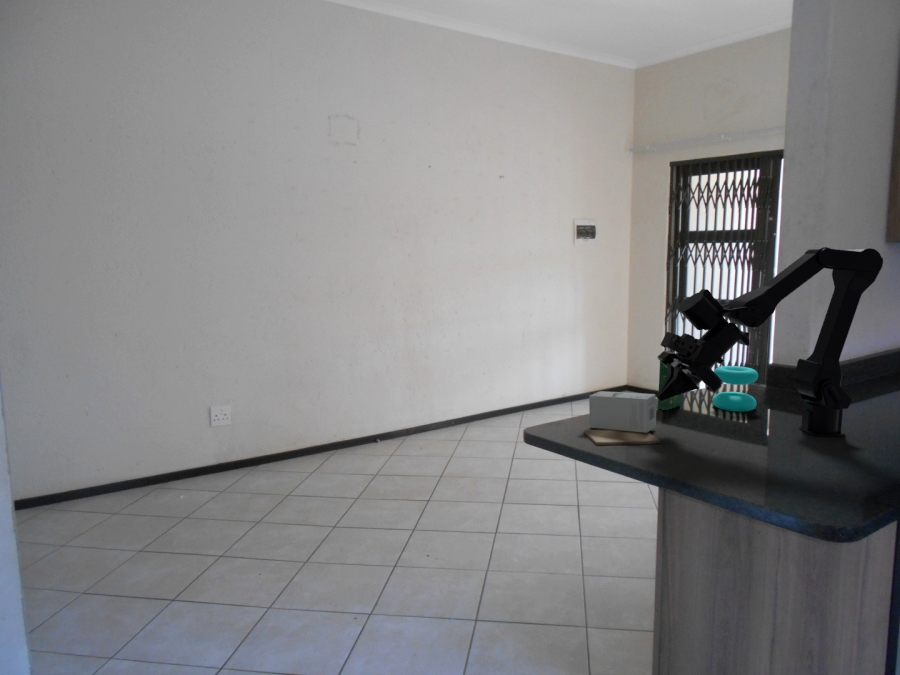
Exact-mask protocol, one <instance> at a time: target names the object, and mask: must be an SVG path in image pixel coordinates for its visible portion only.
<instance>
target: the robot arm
mask: <svg viewBox="0 0 900 675" xmlns="http://www.w3.org/2000/svg"><path fill="white" fill-rule="evenodd" d="M883 264H884V258H883V257H882V255H881V253H880V252H879V251H878V249H877V250H876V249H874V248H871V247H870V248H869V247H868V248H865V247H863V248H847V249H835V248H830V247H828V246H823V247H822V246H821V247H819V246H818V247H816V246H815V247H811V248H809V249H807V250H806V251H805V252H804V254H802V255H801V256H800V257H799V258H797V259H796V260H795V261H793V262H792V263H791V264H789V265H788V266H787V267H785V268H784V269H783V270H782V271H779V273H777V274H776V275H775V276H774V277H772V278H771V279H770V280H769V281H767V282H766V283H765V284H763V285H762V286H760V287H758V288H755V289H753V290H751V291H747V292H745V293H743V294H740V295H739V296H737V297H735V298H733V299H732V300H731V301H730V302H729V303H726V304H720V302H719V301H718V300H717V299H716V298H715V297H714V296H713V294H712V293H711V292H710V290H709V289H706V288H702V289H700V290H699V291H698V292H696V293H693V294H692V295H691V296H690V297H687V298H686V299H684V300H683V301H682V302H681V303H680V305H679V307H678V311H679V312H680V314H682V315H683V317H685V319H686V320H688V322H689V323H690V324H691V325H692V326H693V327H694V328H695V329H696V330H697V331H702V330H703V331H706V332H704V334H702V336H700V338H695V336H693V335H691V334H689V333H683V334H682V335H679V334H676V333H674V332H673V333H672V332H669V331H666V332H665V334H664V337H663V339H662V340H661V342H660V345H659V346H661V347H663V348H667V349H670V350H672V351H674V352H672V351H669V350H666V351H665V350H663V351H662V352H661V353H660V354H659V355H657V357H656V358H657V360H659V362H660V361H661V362H662V363H663V364H664V365H665V366H666V367H667V370H668V375H667V377H666V380H665V382H664V384H663V385H662V387H661V389H660V391H659V390H658V394H656V398H657V400H658V399H659V400H660V401H663V400H666V399H668V398H671V397H674V396H677V395H680V394H681V395H682V394H685V393H688V392H692V391H695V390H697V391H698V390H700V387H699V386H698V385H699V384H700V383H701V382H703V383H704V384H705V385H706V390H707V391H708V392H711V393H713V394H716V393H717V392H718V391H719V390H720V389H721V388H722V384H723V382H722V380H721V379H720V378H719V377H718V376H717V375H716V374H715V373H714V370H713V369H712V368H713V367H714V366H715V365H716V364H719V365H722V364H723V362H724V361H725V360H724V359H723V356H724V355H726V354H727V353H728V352H729V351H730V350H731V349H732V348H733V347H734V346H735V345H736V344H739V345H742V346H747V347H748V346H750V344H751V343H750V332H748V331H743V330H741V329H740V328H739V326H742V327H747V328H758V327H760V326H763V325H764V324H765V323H766V321H767V320H768V319H770V318H771V316H772V315H773V314H774V313H775V311H776V308H778V307H777V306H778V305H779V304H780V303H781V301H783V300H784V299H786V298H787V297H788V296H790V295H791V294H792V293H794V291H796V290H797V289H799V288H800V287H801V286H803V285H804V284H806V283H807V282H808V281H809V280H811V279H812V278H813V277H814V276H816V274H818V273H820V271H822V270H824V269H827V270H832V271H831V272H832V273H831V277H832V281H833V285H834V289H833V293H832V296H831V298H830V300H829V305H828V308H827V310H826V313H825V316H824V319H823V321H822V326H821V328H820V331H819V334H818V337H817V340H816V342H815V345H814V349H813V351H812V353H811V355H809V356H808V358H806V359H803V358H799V359H798V360H797V364H796V368H795V370H794V372H793V374H791V375H792V377H793V386H794V387H795V389H796V391H798V394H799V397H800V400H801V401H805V402H804V409H802V412H801V425H799V426H798V428H799V429H800V430H802V431H803V432H807V433H808V434H810V435H812V436H813V437H846V436H847V433H845V432H843V431H842V427H843V425H842V424H843V414H844V413H843V412H844V410H848V409H849V407H850V405H851V403H852V397H850V396H849V394H848V393H847V392H846V391H844V389H843V388H842V387H841V383H842V378H843V373H842V368H841V363H840V359H841V355H842V353H843V349H844V347H845V344H846V341H847V338H848V335H849V332H850V329H851V326H852V324H853V321H854V318H855V316H856V312H857V309H858V306H859V303H860V300H861V297H862V295H863V294H864V292H865V291H866V290H868V288H869V287H871V285H872V284H874V283H875V281H876V279H877V278H878V276H879V274H880V273H881V270H882V268H883ZM726 318H728V320H729V321H730V322H729V321H728V320H727V319H726ZM675 352H676V353H675Z"/></svg>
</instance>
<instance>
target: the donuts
mask: <svg viewBox="0 0 900 675" xmlns="http://www.w3.org/2000/svg"><path fill="white" fill-rule="evenodd" d="M713 372H714V373H715V374H716V375H717V376H718V377H719V378H720V379H721V380H722V384H728V385H737V386H739V385H740V386H741V385H742V386H744V385H745V386H746V385H750V384H753V383H755V382H757V380H758V378H759V372H758V371H757V370H756V369H754V368H751V367H747V366H739V365H722V366H718V367H716V368H715V369H714V370H713ZM712 404H713V405H714V407H716V408H717V409H720V410H723V411H730V412H738V413H739V412H741V413H742V412H750V411H753V410H754V409H756V407H757V404H758V403H757V400H756V399H755V397H753V396H752V395H750V394H748V393H744V392H739V391H722V392H719V393H717V394H716V393H715V395H714V396H713V397H712Z"/></svg>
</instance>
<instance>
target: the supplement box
mask: <svg viewBox="0 0 900 675" xmlns="http://www.w3.org/2000/svg"><path fill="white" fill-rule="evenodd" d="M656 398H657V395H656V394H655V393H638V392H626V391H625V392H622V391H619V392H618V391H601V390H600V391H597V392H594V393H593V394H590V395H589V397H588V399H589V400H588V401H589V402H588V404H589V405H588V406H589V407H588V409H589V411H588V413H589V428H591V429H598V430H609V429H610V430H621V431H632V432H643V433H647V432H649V433H650V432H651V431H652V430H653V429H654V428H656V426H657V402H656V400H657V399H656Z"/></svg>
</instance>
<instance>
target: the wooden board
mask: <svg viewBox="0 0 900 675" xmlns="http://www.w3.org/2000/svg"><path fill="white" fill-rule="evenodd" d="M583 433H584V434H585V435H586V437H588V438H589V439H590V440H591V441H592V442H593V443H594V444H595V445H596V446H610V445H611V446H612V445H614V446H615V445H619V446H620V445H621V446H623V445H651V444H653V443H654V444H655V443H660V444H661V440H660V439H658V438H657V437H655V436H654V435H653V434H651V433H650V431H649V432H647V433H643V432H632V431H621V430H610V429H585V430H584V432H583ZM654 444H653V445H654Z"/></svg>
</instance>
